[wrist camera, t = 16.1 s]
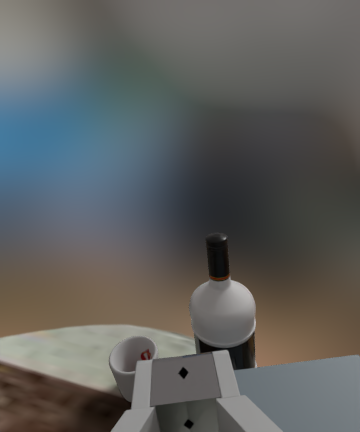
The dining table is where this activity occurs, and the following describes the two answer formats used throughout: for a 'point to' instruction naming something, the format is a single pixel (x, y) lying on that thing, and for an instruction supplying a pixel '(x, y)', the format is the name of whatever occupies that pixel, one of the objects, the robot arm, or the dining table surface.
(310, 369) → the console
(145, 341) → the cup
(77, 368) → the dining table surface
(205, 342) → the vodka
